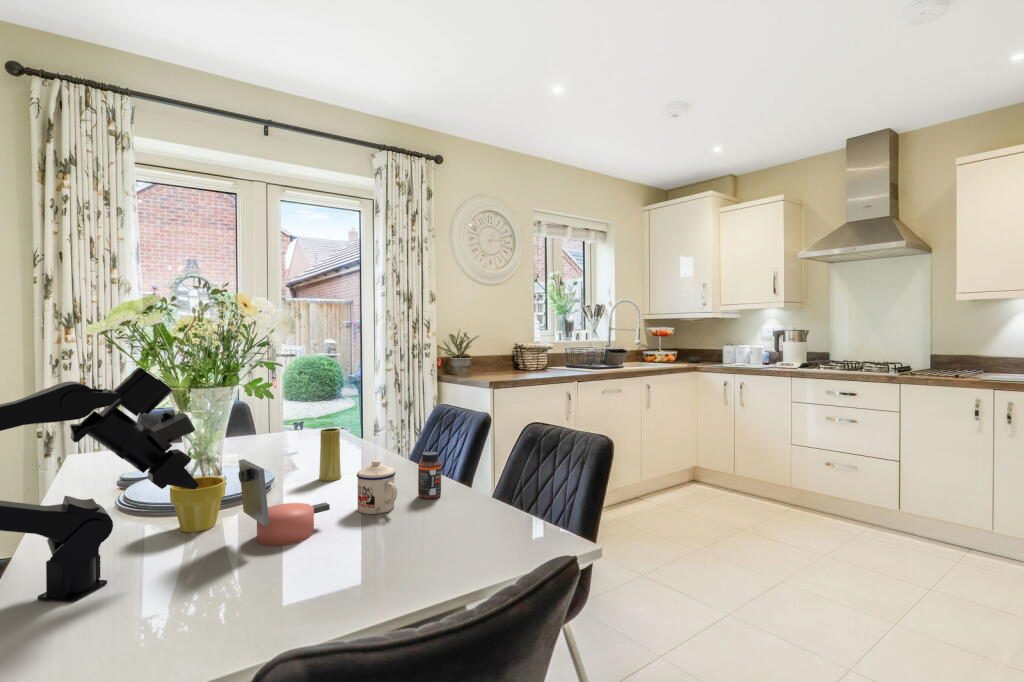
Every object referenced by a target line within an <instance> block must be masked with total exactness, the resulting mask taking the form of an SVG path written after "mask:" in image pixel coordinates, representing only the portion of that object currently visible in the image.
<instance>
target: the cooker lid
mask: <svg viewBox="0 0 1024 682" xmlns="http://www.w3.org/2000/svg"><path fill="white" fill-rule="evenodd" d="M238 467H239V471H238V473H237V475H238V480H239V482H240V487H241V498H242V511H243V513H244V514H246V515H247V516H249V517H250V518H251V519H253V520H254V521H256V522H257V521H258V522H259V523H260V524H262V525H263V526H265V525H268V524H269V518H268V507H269V506H268V499H267V498H268V497H267V487H266V477H265V476H266V475H265V468H263V467H261V466H259V465H256V464H254V463H252V462H250V461H249V460H247V459H239V460H238Z"/></svg>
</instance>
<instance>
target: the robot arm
mask: <svg viewBox="0 0 1024 682" xmlns="http://www.w3.org/2000/svg"><path fill="white" fill-rule="evenodd" d="M173 392H174V391H173V390H172V388H171V387H170V386H168V385H167V384H166V383H165V382H164V381H163V380H161V379H159V378H156V377H155V376H154V375H152V374H151V373H149V372H147V371H146V370H145V369H144V368H142V367H136V368H135V369H134V370H133V371H132V372H131V373H130V375H129V376H128V377H127V378H125V379H124V380H123V381H122V382H121V383H120V384H119V385H118V386H116V387H115V388H114V389H113V390H112V389H108V388H105V387H104V388H103V389H102V388H91V387H90V386H88V385H85V384H84V383H81V382H79V381H73V380H72V381H64V382H61V383H58V384H55V385H53V386H50V387H47V388H45V389H42V390H41V389H40V390H38V391H37V392H35V393H32V394H29V395H28V396H25V397H23V398H20V399H17V400H14V401H9V402H5V403H0V432H1V431H5V430H9V429H13V428H18V427H21V426H25V425H27V426H28V425H33V424H34V425H36V424H38V425H39V424H49V423H50V424H51V423H60V422H68V421H74V420H75V421H76V420H81V419H83V418H84V419H83V420H82V421H81V422H80V423H70V424H69V427H70V439H71V440H72V442H73V443H79V442H80V441H81V440H82V439H83V438H85V436H86V435H87V436H88V437H90V438H91V439H93V440H95V441H96V442H97V443H99V444H100V445H102V446H103V447H105V448H106V449H108V450H109V451H111V452H113V454H115V455H116V456H118V457H119V458H120V459H122V460H124V461H125V462H127V463H128V464H130V465H132V467H134V468H135V469H137V470H138V471H139V472H141V473H143V474H144V473H145V472H147V479H148V481H150V483H152V484H154V485H155V486H156V487H158V488H159V489H161V490H163V489H165V488H166V487H167V486H177V487H183V488H188V489H193V490H195V489H196V488H197V487H198V486H199V484H198V483H197V482H196V481H195V479H194V478H195V477H193V475H191V474H190V472H189V471H188V470H187V469H186V467H187V466H188V464H189V463H190V462H191V461H192V458H191V457H190V456H189V455H187V454H186V453H185V452H183V451H182V450H181V449H178V448H177V449H171V447H173V444H172V443H171V442H174V441H175V440H177V439H180V438H181V437H183V436H186V435H190V434H191V433H193V432H194V431H195V430H196V428H195V426H194V425H193V422H192V420H191V419H190V417H189V415H188V414H186V413H183V412H180V413H176V414H175V415H174V414H172V413H170V412H168V411H165V412H163V413H161V414H159V415H158V423H155V425H154V426H152V427H150V428H149V427H147V426H146V425H142V424H140V423H138V421H136V420H134V418H132V417H130V416H129V415H128V414H126V413H125V412H124V411H123V410H120V409H119V408H118V407H119V406H121V407H122V408H123V409H125V410H127V411H128V412H129V413H131V414H132V415H134V416H135V417H138V416H139V415H141V416H143V415H146V416H148V415H149V414H150V413H151V412H152V411H154V410H155V409H156V407H158V406H159V405H160V404H161V403H162V402H163V401H164V400H165V399H167V397H168V396H169V395H171V394H172V393H173ZM100 408H101V409H102V408H104V409H102V410H101V411H100V412H97V411H95V410H97V409H100ZM147 470H148V471H147ZM113 528H114V522H113V519H112V518H111V516H110V515H109V513H108V512H107V510H106V509H105V508H104V507H103V506H102V505H100V504H99V503H97V502H96V500H95V499H93V498H88V499H81V498H76V497H74V496H69V495H64V496H63V502H62V503H60V504H59V503H58V504H52V505H51V504H50V505H40V504H33V503H26V502H16V501H8V500H1V499H0V531H1V532H9V533H10V532H12V533H21V534H22V533H23V534H31V535H32V534H34V535H39V536H42V537H44V538H47V540H46V542H47V545H48V548H49V550H50V554H51V556H50V558H49V559H47V560H46V561H45V569H46V570H45V571H46V572H45V574H46V576H45V577H46V578H45V579H46V580H45V581H46V582H45V583H46V584H45V586H46V589H45V590H46V592H43V593H40V594H38V596H37V600H39V601H51V602H52V601H53V602H64V603H65V602H66V603H72V602H75V601H77V600H79V599H81V598H83V597H85V596H86V595H88V594H91V593H93V592H94V591H96V590H98V589H99V588H102V587H103V586H106V585H107V584H108V580H107V579H101V554H100V553H99V552H100V550H99V549H100V547H101V544H102V543H103V542H105V541H106V540H107V539H108V538H109V536H110V535H111V533H112V532H113Z"/></svg>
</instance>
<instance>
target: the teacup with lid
mask: <svg viewBox="0 0 1024 682" xmlns="http://www.w3.org/2000/svg"><path fill="white" fill-rule="evenodd" d="M395 476H396V471H395V469H394V468H393V467H390V466H386V465H385V464H383V463H381V461H380V460H378V459H374V460H372V461H371V464H369V465H367V466H365V467H364V468H361V469H359V470H358V471H357V473H356V477H357V510H358V511H359V512H360V513H362V514H365V515H378V514H384V513H388V512H390V511H392V510H393V509H394V507H395V501H396V500H397V496H398V489H397V486H396V484H395Z"/></svg>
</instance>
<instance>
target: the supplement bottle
mask: <svg viewBox="0 0 1024 682" xmlns="http://www.w3.org/2000/svg"><path fill="white" fill-rule="evenodd" d="M421 455H422V456H421V458H422V460H420V461H419V462H418V471H417V472H418V473H417V476H418V478H417V479H418V480H417V481H418V483H417V493H418V494H417V495H418V497H419V498H421V499H425V500H427V499H428V500H430V499H437V498H439V497H440V496H441V495H442V461H440V460H439V458H438V457H439V456H438V455H439V453H438V452H436V451H425V452H422V453H421Z"/></svg>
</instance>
